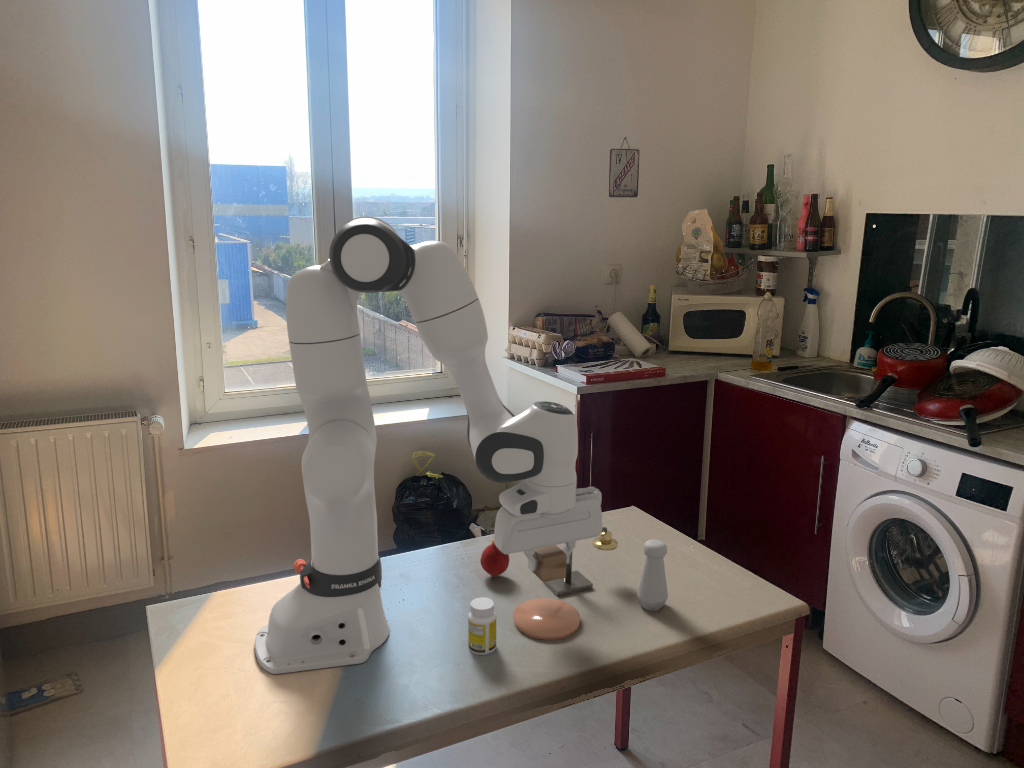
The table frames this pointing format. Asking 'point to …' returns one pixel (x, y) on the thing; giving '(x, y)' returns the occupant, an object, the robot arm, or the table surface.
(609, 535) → the balance
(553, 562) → the block
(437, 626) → the table surface
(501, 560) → the onion
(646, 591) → the salt shaker
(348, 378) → the robot arm
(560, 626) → the dish
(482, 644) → the supplement bottle
